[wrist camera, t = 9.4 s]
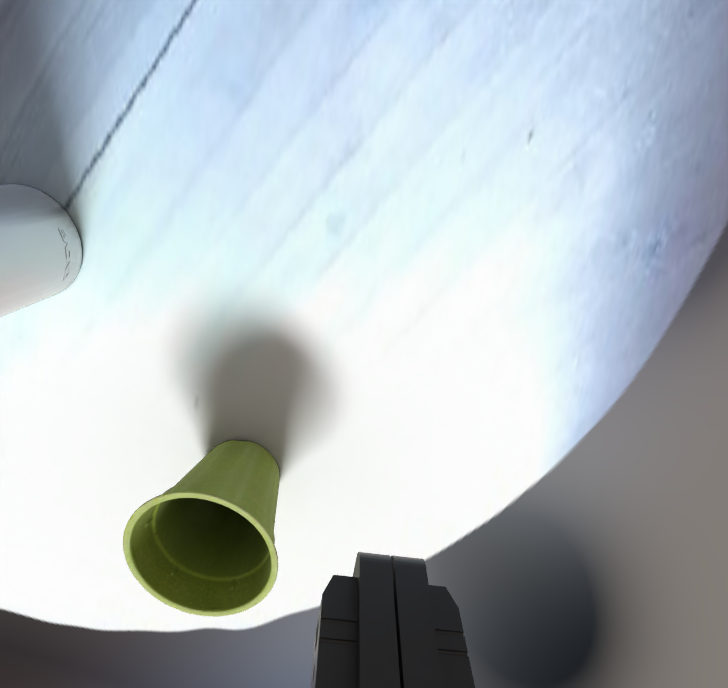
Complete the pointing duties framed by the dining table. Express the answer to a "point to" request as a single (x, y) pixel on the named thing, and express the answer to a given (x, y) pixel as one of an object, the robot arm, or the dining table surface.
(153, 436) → the dining table surface
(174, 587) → the plant pot
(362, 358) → the dining table surface
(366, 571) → the robot arm
